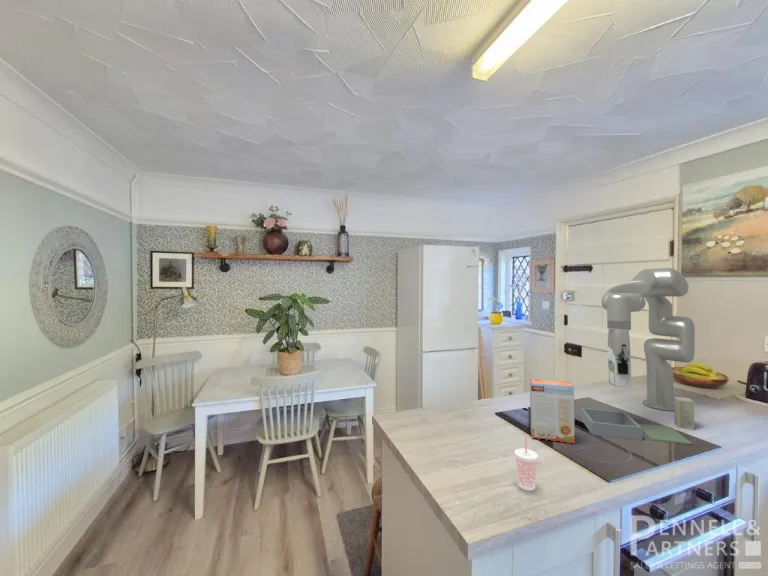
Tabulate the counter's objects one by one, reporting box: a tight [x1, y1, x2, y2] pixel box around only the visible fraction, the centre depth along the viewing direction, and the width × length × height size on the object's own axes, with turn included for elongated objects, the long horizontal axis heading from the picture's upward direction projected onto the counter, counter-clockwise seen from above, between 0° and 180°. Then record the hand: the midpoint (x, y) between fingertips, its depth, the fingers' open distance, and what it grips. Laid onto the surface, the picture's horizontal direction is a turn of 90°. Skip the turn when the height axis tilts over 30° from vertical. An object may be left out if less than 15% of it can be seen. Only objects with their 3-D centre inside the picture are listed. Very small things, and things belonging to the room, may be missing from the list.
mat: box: [638, 423, 693, 445], centre depth 122 cm, size 14×12×1 cm
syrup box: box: [607, 346, 632, 388], centre depth 126 cm, size 6×6×14 cm
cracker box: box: [529, 379, 576, 445], centre depth 119 cm, size 14×6×21 cm, turn 71°
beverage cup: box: [514, 435, 539, 491], centre depth 91 cm, size 6×6×14 cm
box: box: [673, 396, 696, 430], centre depth 128 cm, size 5×4×11 cm
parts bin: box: [580, 407, 643, 441], centre depth 127 cm, size 16×16×4 cm
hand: (619, 370), depth 126 cm, fingers closed on syrup box, 6 cm apart
